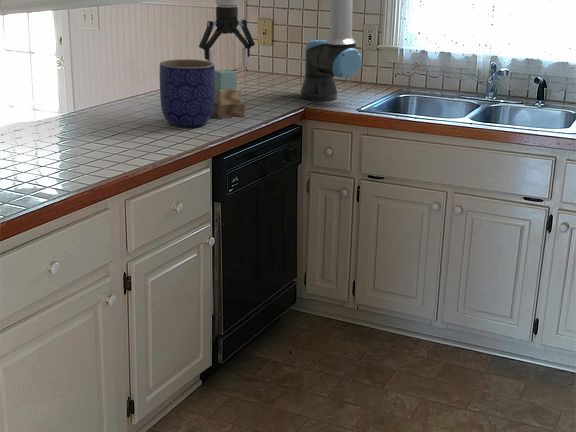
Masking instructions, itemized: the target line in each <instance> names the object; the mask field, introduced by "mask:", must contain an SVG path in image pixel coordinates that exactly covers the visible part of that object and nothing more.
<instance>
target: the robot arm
mask: <svg viewBox="0 0 576 432" xmlns="http://www.w3.org/2000/svg"><path fill="white" fill-rule="evenodd" d="M215 5H216V7H215V21H213V20H207V23H206V29H205V31H204V34H203V35H202V38H201V40H200V42H199V44H198V48H199V49H202V50H204V53H203V54H204V55H203V56H204V60H205V61H209V62H212V63H213V58H212V57H213V55H212V53H213V51H212V49H211V48H212V47H213V45H214V44H215V43H216V41H217V40H218V39H219V37H220V36H221V35H222V34H223V35H226V34H234V35H235V36H236V38H237V39H238V40H239V41H240V43H241V44H242V45H243V47H242V48H241V50H242V56H241V57H242V58H241V59H242V61H241V62H242V67H245V68H247V67H248V58H250V54H251V51H250V50H251V48H252V47H254V46H255V41H254V39H253V37H252V34H251V33H250V30H249V28H248V25H247V20H246V19H240V20H239V18H238V15H239V13H238V12H239V9H238V5H239V2H238V0H215ZM353 10H354V9H353V0H329V37H328V38H327V39H317V40H308V41H307V42H306V46H305V61H304V62H305V63H304V64H305V67H304V68H305V69H304V79H303V82H302V86H301V88H300V90H299V98H301V99H304V100H306V101H308V100H309V101H316V102H317V101H318V102H319V101H320V102H327V101H328V102H329V101H334V100H337V99H338V91H337V90H338V89H337V87H336V83H335V77H336V78H339V79H349V78H352V77H354V76H355V75H356V74H357V73H358V71H359V70H360V68H361V66H362V55H361V53H360V52H359V50H358V49H357V48H356V47H357V42H356V40H355V39H354V38H353ZM238 26H240V28H241V30H242V32H243V34H244V36H245V37H244V36H243V35H242V34H241V32H240V30H239V29H238V28H237V27H238ZM215 27H216V29H215V30H214V29H213V28H215ZM213 30H214V32H213V34H212V31H213ZM211 34H212V35H211ZM210 36H211V37H210Z"/></svg>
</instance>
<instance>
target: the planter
mask: <svg viewBox="0 0 576 432" xmlns="http://www.w3.org/2000/svg"><path fill="white" fill-rule="evenodd" d="M215 68H216V67H215V63H214V62H213V61H212V62H209V61H207V60H202V59H169V60H164V61H161V62H160V63H159V70H158V71H159V95H160V96H159V97H160V107H161V112H162V115H163V117H164V119H165V121H166V122H168V124H170V125H172V126H174V127H180V128H197V127H201V126H204V125H206V124H208V122H209V120H211V118H212V117H213V116H212V113H213V109H214V96H215V70H216V69H215Z"/></svg>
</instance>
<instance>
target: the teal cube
mask: <svg viewBox="0 0 576 432" xmlns="http://www.w3.org/2000/svg"><path fill="white" fill-rule="evenodd" d="M237 74H238V73H237V71H235V70H232V69H215V88H217V89H220V90H230V89H237V88H238V87H237V86H238V85H237V83H238V82H237V79H238V77H237V76H238V75H237Z"/></svg>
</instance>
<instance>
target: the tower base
mask: <svg viewBox="0 0 576 432" xmlns="http://www.w3.org/2000/svg"><path fill="white" fill-rule="evenodd" d="M211 117H213V118H216V119H217V120H223V119H222V118H225V119H233V118H232V117H238V118H245V104H244V103H243V102H241V103H240V104H229V105H219V104H216V103H214V109H213V113H212V116H211Z"/></svg>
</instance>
